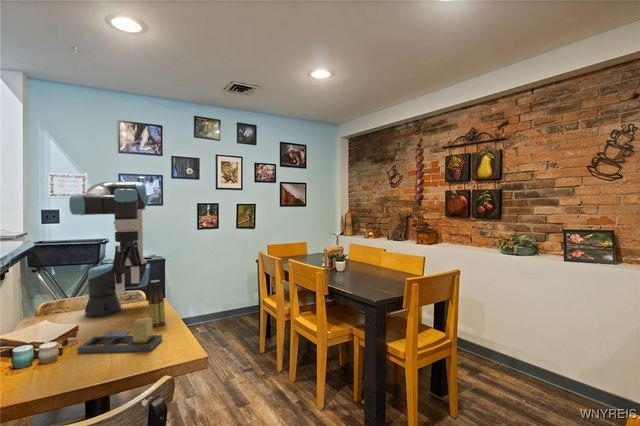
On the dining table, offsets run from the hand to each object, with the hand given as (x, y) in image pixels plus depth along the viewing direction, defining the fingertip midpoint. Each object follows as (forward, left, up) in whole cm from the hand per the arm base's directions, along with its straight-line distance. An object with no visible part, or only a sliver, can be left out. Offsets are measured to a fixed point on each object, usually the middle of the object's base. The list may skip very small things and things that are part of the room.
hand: (128, 287), depth 125 cm
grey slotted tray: (-2, -4, -23) cm, 23 cm away
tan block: (-2, +4, -23) cm, 23 cm away
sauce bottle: (-24, 0, -23) cm, 33 cm away
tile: (-12, -12, -23) cm, 28 cm away
